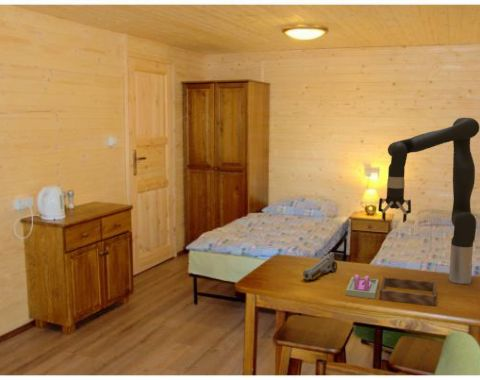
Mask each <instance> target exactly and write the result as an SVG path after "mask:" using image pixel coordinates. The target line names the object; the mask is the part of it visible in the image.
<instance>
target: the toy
mask: <svg viewBox="0 0 480 380" xmlns="http://www.w3.org/2000/svg"><path fill="white" fill-rule="evenodd" d="M337 270H338V262H336V261H335V252H331V251H330V252H324V253H323V256H322V258H321V259H320V260H318V261H317V262H316V263H315V264H313V265H312V266H311V267H309V268H305V269H304V270H303V271H302V277H303V278H304V279H305V280H307V281H308V280H309V281H314V280H316V278H318V276H320V275H321V274H322V273H323V274H327V273H329V272H336V271H337Z"/></svg>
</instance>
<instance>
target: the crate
mask: <svg viewBox="0 0 480 380" xmlns="http://www.w3.org/2000/svg"><path fill="white" fill-rule="evenodd" d="M436 286H437V285H436V282H435V281H429V280H428V281H427V280H420V279H419V280H417V279H410V278H409V279H408V278H398V277H387V276H383V278H382V282H381V284H380V289H379V300H382V301H389V302H399V303H406V304H407V303H408V304H415V305H424V306H425V305H426V306H432V307H436V306H437V288H436ZM386 287H389V288H399V289H407V290H415V291H423V292H424V291H427V292H432V294H422V293H415V292H406V291H405V292H404V291H395V290H388V289H386Z"/></svg>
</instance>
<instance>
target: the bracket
mask: <svg viewBox="0 0 480 380" xmlns="http://www.w3.org/2000/svg"><path fill="white" fill-rule="evenodd" d="M354 275H355V276H354V277H355V282H354V290H359V291H369V289H370V288H371V286H372V282H370V281H369V279H370V276H369V275H365V276H364V278H365V280H361V281H359V279H360V278H361V277H360V274H354Z"/></svg>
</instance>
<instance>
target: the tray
mask: <svg viewBox="0 0 480 380" xmlns="http://www.w3.org/2000/svg"><path fill="white" fill-rule="evenodd" d="M361 280H365V277H360V279H359V281H361ZM369 281H370V282H372V286H371V288H370V289H369V291H359V290H354V282H355V276H351V278H350V280H349V282H348V285H347V286H346V288H345V296H348V297H356V298H357V297H358V298H364V299H374V300H375V299H376V296H377V292H378V289H379V282H380V279H378V278H369Z"/></svg>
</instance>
